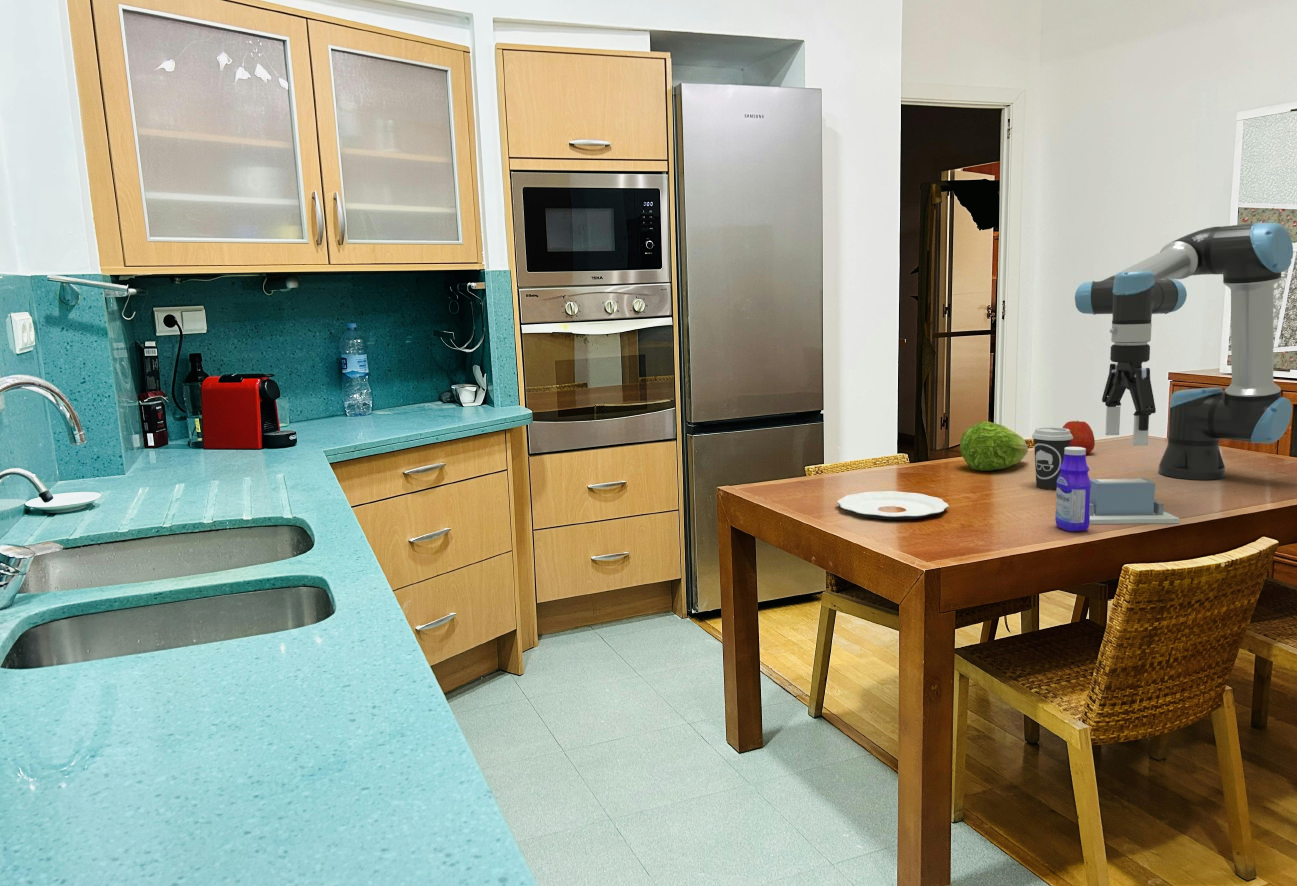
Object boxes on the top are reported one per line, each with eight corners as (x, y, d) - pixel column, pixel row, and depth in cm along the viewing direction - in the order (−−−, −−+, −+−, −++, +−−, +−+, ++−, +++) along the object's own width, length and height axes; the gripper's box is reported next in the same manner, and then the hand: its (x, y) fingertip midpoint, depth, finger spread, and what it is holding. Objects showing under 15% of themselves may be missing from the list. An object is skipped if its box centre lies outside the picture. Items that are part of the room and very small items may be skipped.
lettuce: (1055, 443, 251) (1017, 413, 261) (1005, 441, 237) (967, 410, 247) (1027, 482, 258) (991, 452, 268) (977, 483, 244) (941, 451, 254)
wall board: (1150, 508, 201) (1151, 494, 200) (1179, 523, 188) (1180, 507, 187) (1064, 509, 202) (1064, 495, 202) (1087, 524, 189) (1087, 508, 189)
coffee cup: (1075, 491, 220) (1077, 432, 218) (1034, 490, 222) (1036, 432, 220) (1065, 483, 230) (1067, 426, 227) (1026, 483, 231) (1028, 426, 229)
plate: (931, 528, 191) (931, 520, 191) (822, 516, 204) (822, 508, 204) (958, 504, 212) (958, 496, 212) (858, 495, 225) (858, 487, 225)
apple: (1062, 456, 266) (1064, 422, 264) (1052, 450, 276) (1054, 417, 274) (1098, 456, 264) (1100, 422, 262) (1087, 450, 274) (1089, 417, 272)
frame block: (1096, 514, 193) (1097, 483, 192) (1087, 509, 198) (1088, 478, 197) (1153, 514, 192) (1155, 482, 191) (1142, 509, 197) (1144, 477, 196)
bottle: (1049, 525, 190) (1052, 445, 187) (1074, 523, 190) (1078, 444, 187) (1068, 533, 183) (1072, 451, 180) (1094, 532, 183) (1098, 450, 180)
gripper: (1088, 341, 203) (1085, 431, 206) (1139, 347, 178) (1134, 450, 182) (1122, 339, 202) (1118, 430, 205) (1178, 346, 177) (1172, 449, 181)
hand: (1125, 440), depth 194 cm, fingers open, 13 cm apart
